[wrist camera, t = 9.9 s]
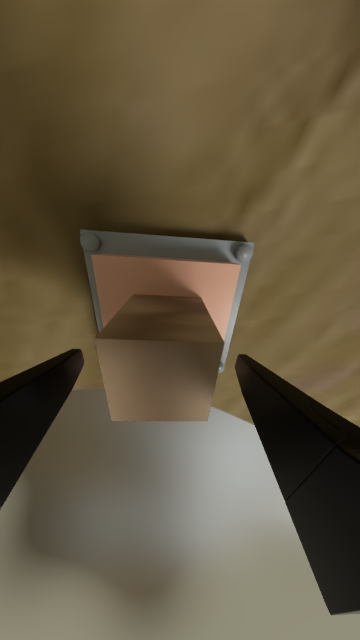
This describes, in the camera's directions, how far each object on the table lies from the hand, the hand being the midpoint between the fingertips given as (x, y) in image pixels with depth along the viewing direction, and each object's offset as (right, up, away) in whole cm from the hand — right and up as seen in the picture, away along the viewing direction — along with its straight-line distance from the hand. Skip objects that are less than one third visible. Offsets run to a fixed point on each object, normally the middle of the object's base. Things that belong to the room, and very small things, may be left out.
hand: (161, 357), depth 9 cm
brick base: (0, +3, +6) cm, 7 cm away
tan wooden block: (0, +2, +3) cm, 4 cm away
